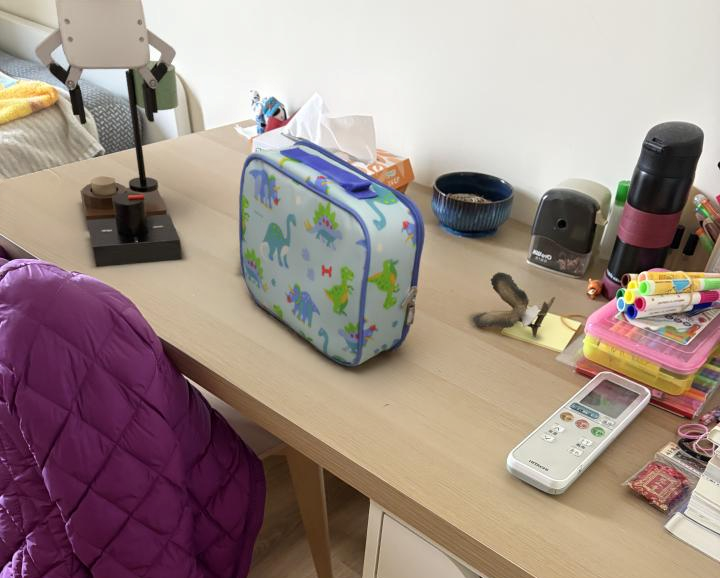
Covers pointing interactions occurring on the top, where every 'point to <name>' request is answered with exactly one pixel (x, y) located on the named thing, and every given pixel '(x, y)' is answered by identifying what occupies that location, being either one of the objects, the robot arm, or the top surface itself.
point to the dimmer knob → (130, 213)
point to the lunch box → (329, 250)
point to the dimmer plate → (134, 242)
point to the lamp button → (103, 185)
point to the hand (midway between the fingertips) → (116, 119)
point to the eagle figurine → (516, 301)
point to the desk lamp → (165, 101)
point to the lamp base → (103, 204)
